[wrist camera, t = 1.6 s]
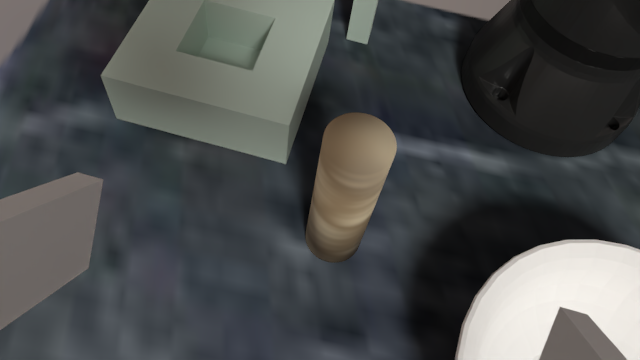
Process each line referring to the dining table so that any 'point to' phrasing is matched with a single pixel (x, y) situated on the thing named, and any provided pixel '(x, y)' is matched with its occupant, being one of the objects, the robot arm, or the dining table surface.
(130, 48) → the socket
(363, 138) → the dowel
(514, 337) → the bowl
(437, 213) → the dining table surface
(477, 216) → the dining table surface
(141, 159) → the dining table surface
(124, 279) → the dining table surface
